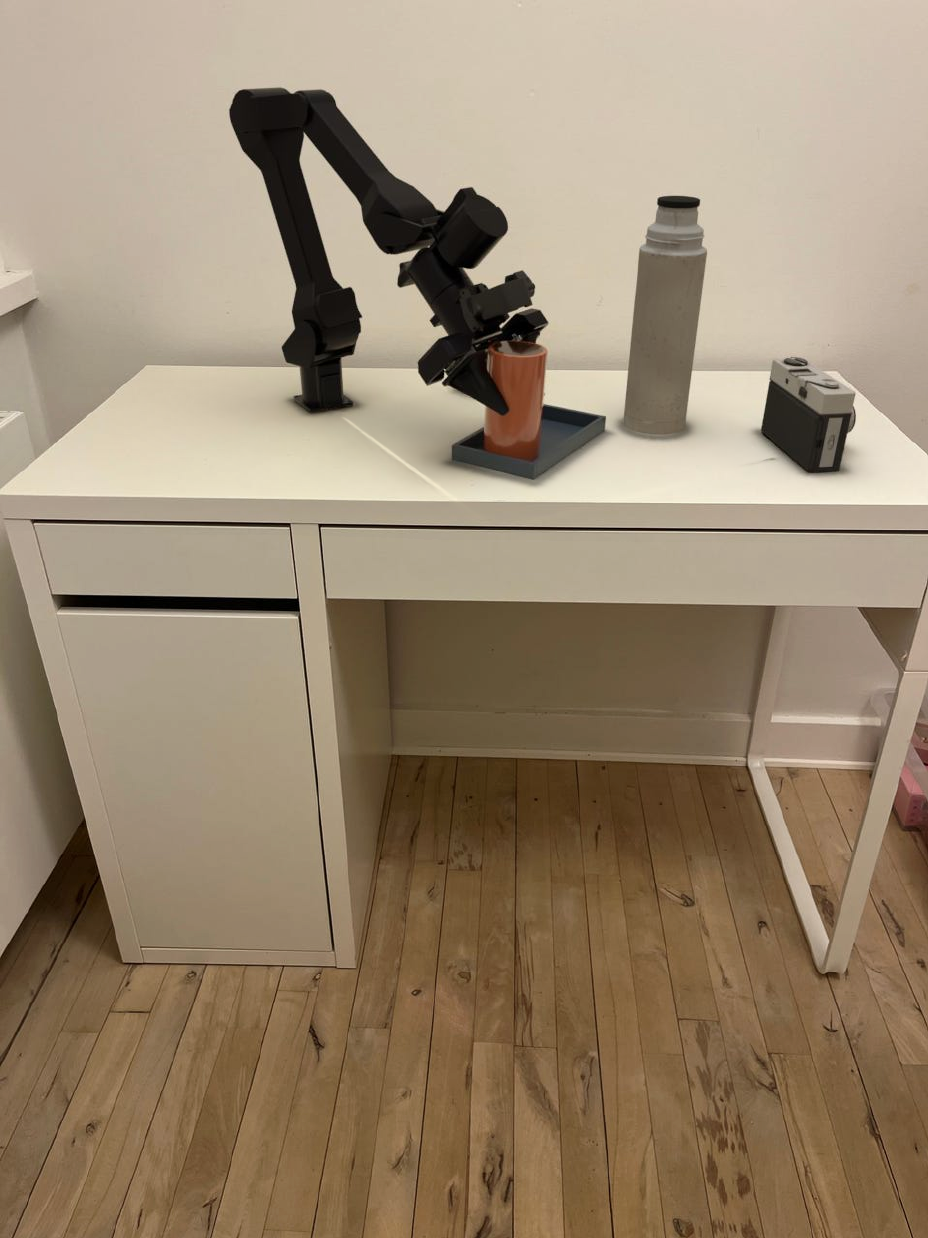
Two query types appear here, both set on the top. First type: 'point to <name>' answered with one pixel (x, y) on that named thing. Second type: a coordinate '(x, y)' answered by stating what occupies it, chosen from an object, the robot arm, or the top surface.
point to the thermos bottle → (665, 318)
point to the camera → (808, 414)
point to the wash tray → (557, 442)
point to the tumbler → (516, 399)
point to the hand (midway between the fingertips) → (524, 405)
